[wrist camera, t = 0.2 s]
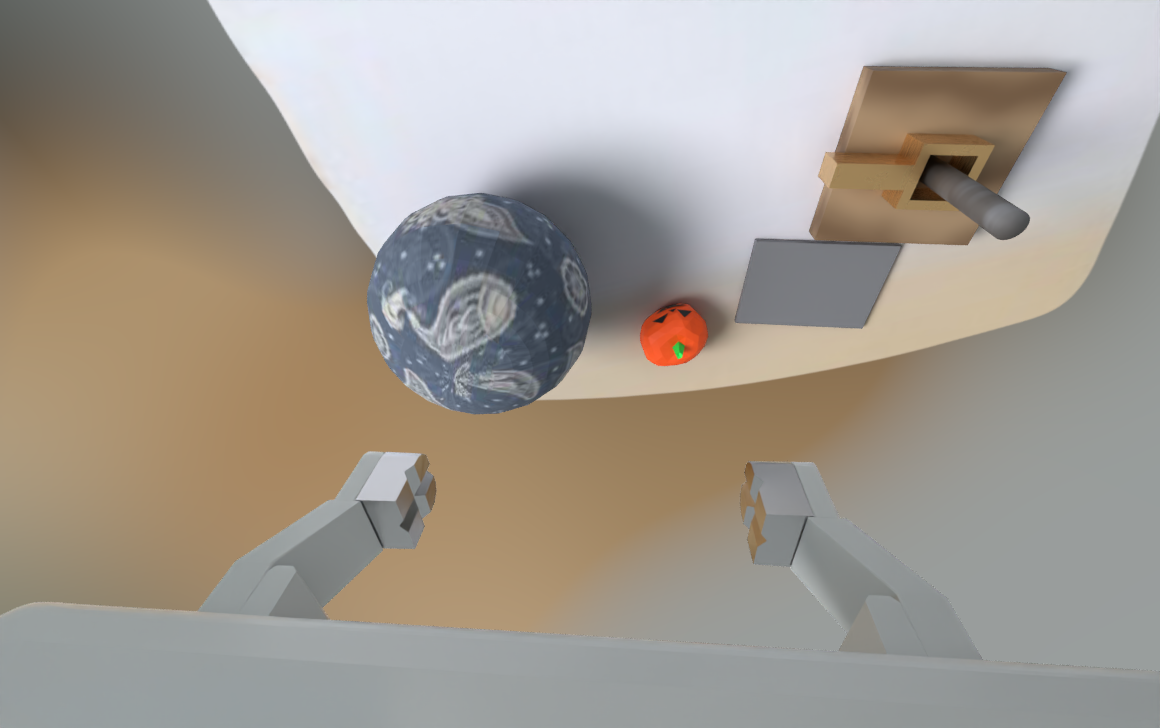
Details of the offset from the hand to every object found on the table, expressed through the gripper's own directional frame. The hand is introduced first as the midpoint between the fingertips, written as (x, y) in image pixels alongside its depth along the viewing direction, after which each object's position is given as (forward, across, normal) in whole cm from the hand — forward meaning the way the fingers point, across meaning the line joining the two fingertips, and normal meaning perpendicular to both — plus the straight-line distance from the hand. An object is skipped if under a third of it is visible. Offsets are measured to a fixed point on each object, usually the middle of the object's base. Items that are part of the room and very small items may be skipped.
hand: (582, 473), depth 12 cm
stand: (+39, -26, +1) cm, 47 cm away
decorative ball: (+40, +12, +10) cm, 43 cm away
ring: (+37, -24, +1) cm, 44 cm away
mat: (+40, -21, +14) cm, 47 cm away
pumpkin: (+41, -6, +19) cm, 45 cm away
